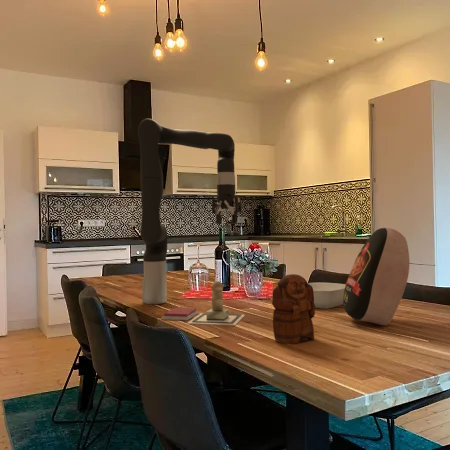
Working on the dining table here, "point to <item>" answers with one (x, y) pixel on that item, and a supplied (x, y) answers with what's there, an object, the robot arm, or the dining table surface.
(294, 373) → the dining table surface
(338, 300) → the square bowl
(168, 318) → the ink pad
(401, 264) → the packaged food
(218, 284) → the stamp
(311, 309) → the wooden figurine
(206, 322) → the print sheet
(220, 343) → the dining table surface
